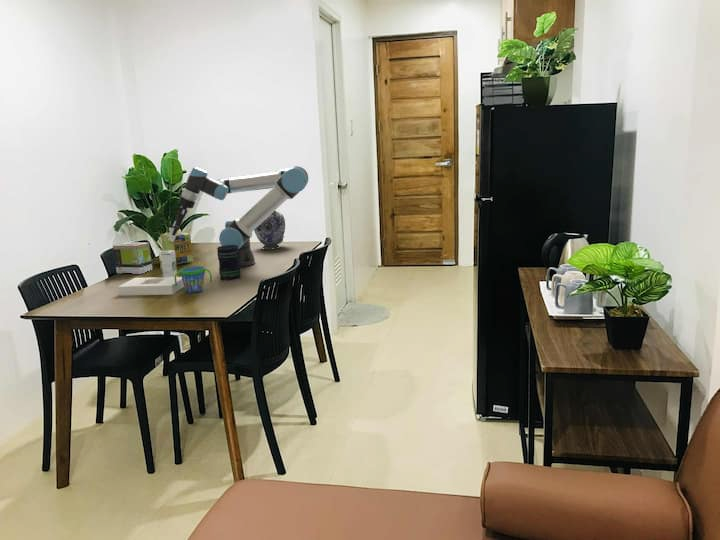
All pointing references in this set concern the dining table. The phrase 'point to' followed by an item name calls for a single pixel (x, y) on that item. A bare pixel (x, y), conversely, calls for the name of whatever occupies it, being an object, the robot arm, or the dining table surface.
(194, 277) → the snack cup
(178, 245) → the protein box
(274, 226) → the decorative vase
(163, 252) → the syrup box
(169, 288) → the flat white box
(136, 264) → the tea box
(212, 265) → the dining table surface
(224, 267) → the storage jar
